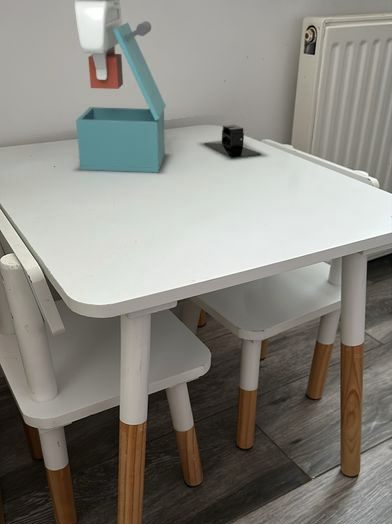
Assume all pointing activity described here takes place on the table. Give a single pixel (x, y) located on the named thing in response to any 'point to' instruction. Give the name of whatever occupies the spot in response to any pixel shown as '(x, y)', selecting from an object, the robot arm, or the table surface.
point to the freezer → (120, 140)
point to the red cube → (113, 72)
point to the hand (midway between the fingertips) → (106, 76)
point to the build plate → (232, 143)
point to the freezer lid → (140, 65)
